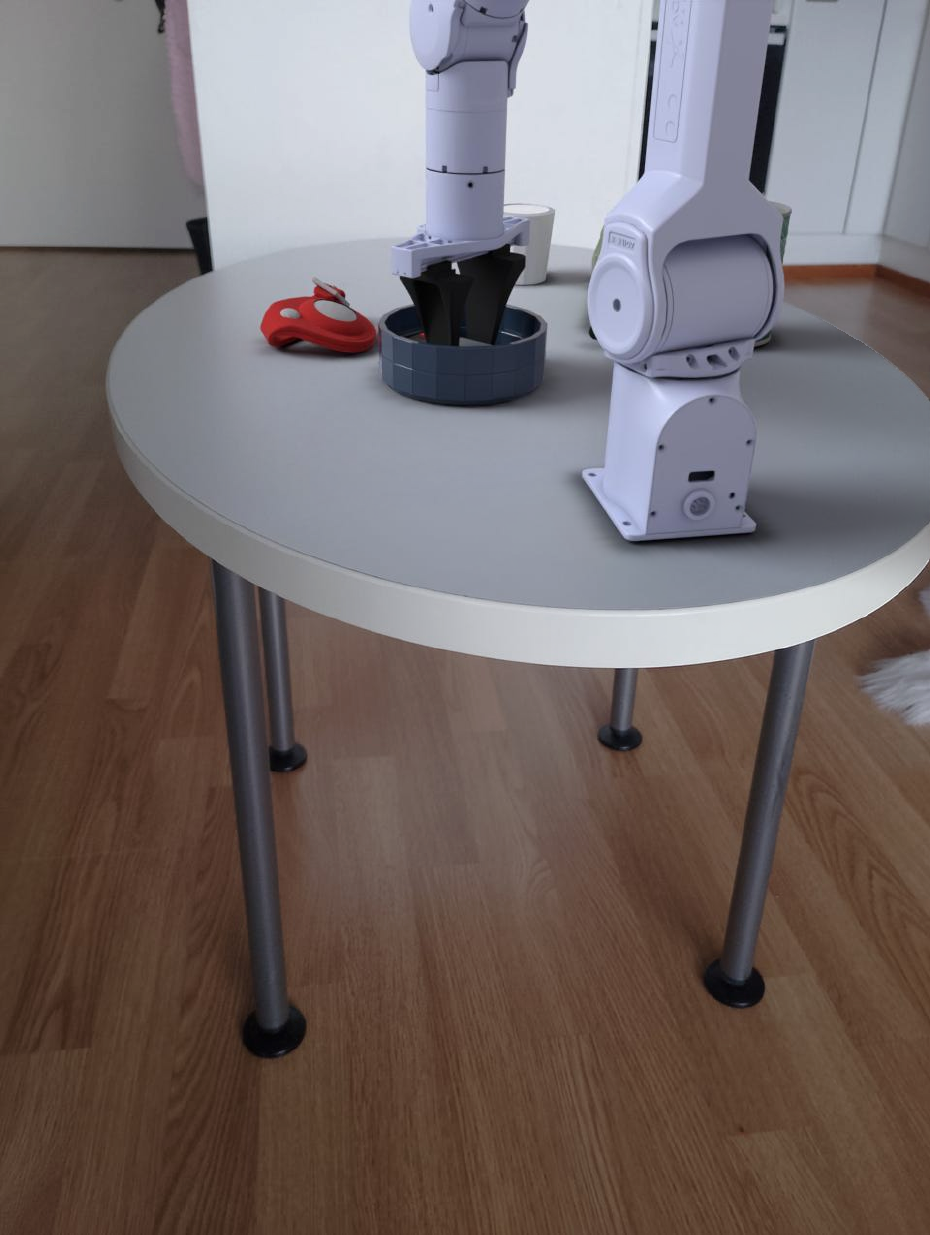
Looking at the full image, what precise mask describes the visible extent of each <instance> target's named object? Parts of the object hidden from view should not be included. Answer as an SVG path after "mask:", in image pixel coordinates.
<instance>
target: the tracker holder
mask: <svg viewBox="0 0 930 1235" xmlns="http://www.w3.org/2000/svg"><path fill="white" fill-rule="evenodd" d="M311 281H312V283H313V284H314V285H315V286H314V287H313V295H311V296H298V297H289V298H284V299H280V300H277V301H275V302H273V303H271V305H269V307H268V308H267V309H266V311H265V312H264V314H263V317H262V320H261V322H260V325H259V326H260V332H261V333H262V335H263V336H264V338H265V340H266V342H267V343H268V344H269V346H270V347H275V348H278V347H282V346H285V345H287V344H289V343H292V342H295V341H297V340H299V339H300V340H303V341H305V342H308V343H311V344H314V345H317V346H320V347H323V348H325V349H330V350H334V351H337V352H341V353H351V354H352V353H353V354H354V353H362V352H366V351H368V350H370V349H371V348H372V347H373V346H374V343H375V341H376V338H377V329H376V326H375V325H374V324H373V323H372V321H371V320H370V319H369V318H367V317H366V316H365V315H363V314H362V313H361V312H359V311H358V310H356V309H354V308H352V307H350V306H351V304H350V302H348V300H346V292H345V291H344V290H342V289H340V288H338V287H337V286H335V285H331V284H328V283H326V282H323V281H321V280H320V279H318V278H317V277H315V276H314V277H312V279H311Z"/></svg>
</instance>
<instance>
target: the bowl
mask: <svg viewBox="0 0 930 1235" xmlns="http://www.w3.org/2000/svg"><path fill="white" fill-rule="evenodd" d="M548 325H549V324H548V322H547V321H546V320H545V319H544V318H543V317H542V315H540V314H538V313H535V312H533V311H531V310H529V309H526V308H523V307H519V306H515V305H511V304H508V303H507V304H506V307H505V310H504V314H503V317H502V320H501V324H500V328H499V331H498V335H497V338H496V342H495V345H492V346H468V347H464V346H446V345H435V344H429V343H423V342H417V341H413V340H410V339H407V338H409V337H412V336H415V335H418V334H421V333H423V328H422V325H421V322H420V319H419V316H418V313H417V310H416V308H415V306H414V303H411V304H407V305H403V306H400V307H396V308H394V309H392V310H390V311H388V312H386V313H384V314H382V315H381V317H380V319H379V320H378V321H377V333H378V338H377V339H378V365H379V366H378V370H379V372H378V373H379V374H380V377H381V380H382V381H383V382H385V383H386V384H387V385H388V386H389V387H390V388H391V389H392V390H394V391H395V392H397V393H399V394H401V395H403V396H405V397H407V398H408V397H409V398H411V399H414V400H418V401H423V402H426V403H432V404H441V405H451V406H452V405H453V406H478V405H479V406H480V405H481V406H482V405H490V404H497V403H503V402H508V401H511V400H516V399H518V398H521V397H523V396H525V395H527V394H529V393H531V392H532V391H533V390H534V389H535V388H537V387H538V386H539V385H540V384H542V383H543V382H544V379H545V374H546V358H547V357H546V356H547V341H548ZM460 337H461V338H465V339H468V337H467V330H466V309H465V306H464V310H463V315H462V320H461V330H460Z"/></svg>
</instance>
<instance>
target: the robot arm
mask: <svg viewBox="0 0 930 1235" xmlns="http://www.w3.org/2000/svg"><path fill="white" fill-rule="evenodd" d="M774 1H775V0H660V1H659V11H658V12H659V14H658V24H657V33H656V43H655V44H656V45H655V53H654V54H655V55H654V64H653V65H654V66H653V78H652V89H651V100H650V110H649V121H648V132H647V140H646V142H647V143H646V154H645V165H644V173H643V174H642V176H641V177H640V179H639V180H638V181H637V182H636V183H635V184H634V185H633V186H632V187H631V189H629V191H628V192H626V194H625V195H624V196H623V197H621V199H620V200H619V201H618V202H617V203H616V204H615V205H614V206H613V207H612V208H611V209H610V211H609V212H608V213H607V214H606V216H605V217H604V220H603V221H604V222H603V225H604V233H603V242H602V247H601V251H600V255H599V258H598V260H597V262H596V265H595V267H594V270H593V272H592V276H591V275H590V279H589V283H588V289H587V304H586V305H587V314H588V319H589V320H590V323H591V327H592V330H593V332H594V334H595V336H596V338H597V340H596V341H597V342H598V344H599V345H600V347H601V348H602V350H603V352H604V353H603V355H604V357H606V358H608V359H610V360H612V361H613V372H612V381H611V393H610V403H609V404H610V405H609V413H608V424H607V437H606V447H605V456H604V457H605V458H604V467H596V468H593V467H592V468H585V469H583V470H582V474H581V477H582V479H583V480H584V482H585V483H586V485H587V486H588V488H589V489H590V490H591V492H592V493H593V495H594V496H595V498H596V499H597V501H598V503H600V505H601V506H602V508H603V510H604V511H605V512H606V514H607V515H608V518H610V519H611V521H612V523H613V524H614V525H615V527H616V528H617V530H618V531H619V533H620V534H621V536H622V537H623V538H624V539H625V541H630V542H640V541H653V540H669V539H681V538H694V537H707V536H721V535H736V534H747V533H749V534H750V533H754V532H755V531H756V528H757V523H756V522H755V521H754V520H753V519H752V518H751V517H750V516H749V514H747V512H746V510H745V508H746V503H747V496H748V491H749V485H750V480H751V475H752V474H751V473H752V468H753V461H754V456H755V451H756V445H757V436H758V434H757V433H758V432H757V426H756V420H755V418H754V416H753V413H752V412H751V410H750V408H749V407H748V405H747V404H746V403H745V401H744V398H743V396H742V394H741V393H742V392H741V385H740V378H741V370H742V364H743V363H744V362H747V361H750V360H752V359H753V354H754V348H755V346H754V342H755V341H757V340H759V339H761V338H762V337H764V336H765V335H766V334H767V333H768V332H769V331H770V330H771V331H772V329H773V327H774V326H775V324H776V322H777V321H778V319H779V316H780V314H781V310H782V307H783V302H784V297H785V285H786V284H785V275H784V268H783V264H782V263H781V257H780V238H781V231H782V225H783V217H782V215H781V214H780V212H779V211H778V210H777V209H776V208H775V207H774V206H773V205H772V204H771V203H770V202H769V201H770V200H768V199H767V197H766V196H765V195H764V194H763V193H761V191H759V189H757V187H756V186H755V185H754V184H753V183H752V182H751V181H750V173H751V167H752V166H751V165H752V158H753V151H754V144H755V136H756V131H757V130H756V129H757V122H758V116H759V109H760V101H761V95H762V85H763V79H764V74H765V65H766V59H767V51H768V45H769V44H768V43H769V38H770V37H769V36H770V30H771V24H772V15H773V8H774ZM529 2H530V0H410V5H409V15H408V16H409V17H408V23H409V24H408V25H409V36H410V43H411V47H412V50H413V53H414V57H415V58H416V60H417V62H418V65H420V66H421V68H422V69H424V70H425V224H424V223H423V224H420V225H417V226H416V234H415V235H414V236H412V237H410V238H409V239H407V240H405V241H403V242H400V243H399V244H395V245H391V246H390V264H391V265H390V267H391V268H390V270H391V272H390V273H391V275H394V276H398V277H399V280H400V282H401V283H402V285H403V287H404V288H405V290H406V292H407V293H408V295H409V297H410V300H411V301H412V304H414V306H415V308H416V310H417V313H418V316H419V319H420V322H421V325H422V328H423V332H424V336H425V339H426V343H429V344H435V345H446V346H459V342H460V330H461V320H462V315H463V310H464V306H465V309H466V330H467V337H468V339H470V340H474V341H478V342H482V343H486V344H490V345H495V342H496V338H497V335H498V331H499V328H500V324H501V320H502V317H503V314H504V310H505V307H506V304H507V305H508V302H509V299H510V296H511V295H512V292H513V289H514V287H515V286H516V285H517V284H516V282H517V280H518V278H519V276H520V275H521V273H522V272H523V270H524V269H525V264H526V256H525V255H523V254H519V253H513V252H510V246H514V245H516V246H525V245H528V244H529V233H530V219H524V218H518V217H512V216H508V217H504V218H503V213H504V204H505V184H506V182H505V180H506V154H507V153H506V152H507V150H506V149H507V123H508V122H507V121H508V99H509V98H511V97H513V96H514V92H515V89H516V88H517V72H518V66H519V64H520V60H521V58H522V56H523V53H524V51H525V48H526V44H527V40H528V31H529V23H528V22H526V11H525V10H526V7H527V5H528V4H529ZM453 264H456V265H457V269H458V272H459V273H457V269H456V268H453Z"/></svg>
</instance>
